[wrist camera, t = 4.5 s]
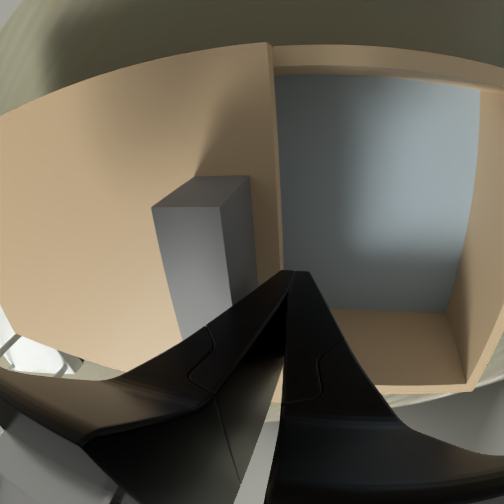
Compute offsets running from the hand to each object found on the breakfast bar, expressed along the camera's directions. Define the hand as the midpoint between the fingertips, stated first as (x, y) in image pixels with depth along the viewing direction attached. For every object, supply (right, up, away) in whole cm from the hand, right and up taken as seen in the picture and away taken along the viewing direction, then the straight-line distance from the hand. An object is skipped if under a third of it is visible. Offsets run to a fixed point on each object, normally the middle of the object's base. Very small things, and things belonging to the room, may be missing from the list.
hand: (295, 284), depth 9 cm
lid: (-9, +1, +3) cm, 10 cm away
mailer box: (+1, +3, +7) cm, 8 cm away
